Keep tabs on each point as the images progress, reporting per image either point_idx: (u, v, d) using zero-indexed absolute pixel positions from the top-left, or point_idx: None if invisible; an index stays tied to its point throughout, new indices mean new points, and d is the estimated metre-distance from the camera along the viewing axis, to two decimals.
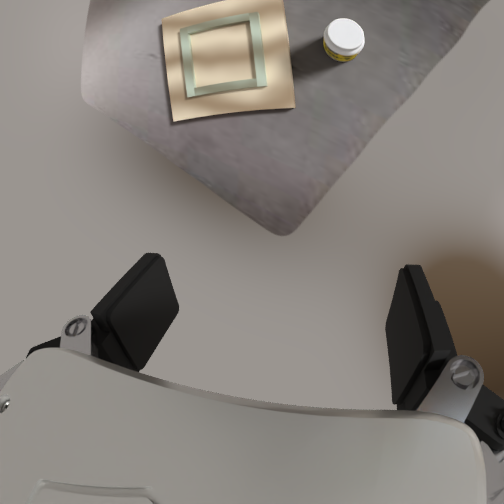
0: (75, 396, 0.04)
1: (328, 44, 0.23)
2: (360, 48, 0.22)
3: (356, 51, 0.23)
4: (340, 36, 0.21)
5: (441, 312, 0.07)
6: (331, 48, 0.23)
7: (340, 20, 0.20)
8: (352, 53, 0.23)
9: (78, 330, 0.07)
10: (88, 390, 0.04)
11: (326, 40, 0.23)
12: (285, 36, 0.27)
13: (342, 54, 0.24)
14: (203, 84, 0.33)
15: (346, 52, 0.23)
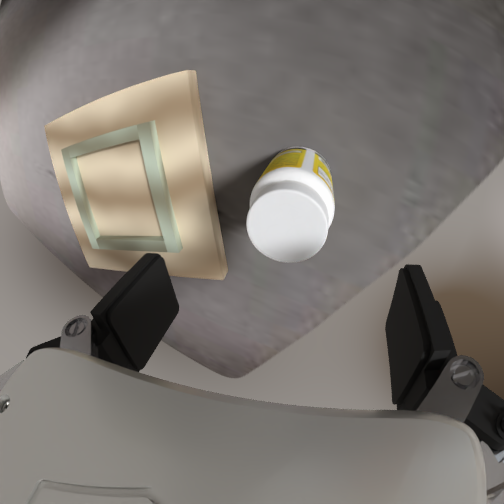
0: (75, 396, 0.04)
1: None
2: None
3: None
4: (273, 237, 0.13)
5: (441, 312, 0.07)
6: None
7: (275, 196, 0.12)
8: None
9: (78, 330, 0.07)
10: (88, 390, 0.04)
11: None
12: (199, 167, 0.20)
13: None
14: (106, 232, 0.26)
15: None
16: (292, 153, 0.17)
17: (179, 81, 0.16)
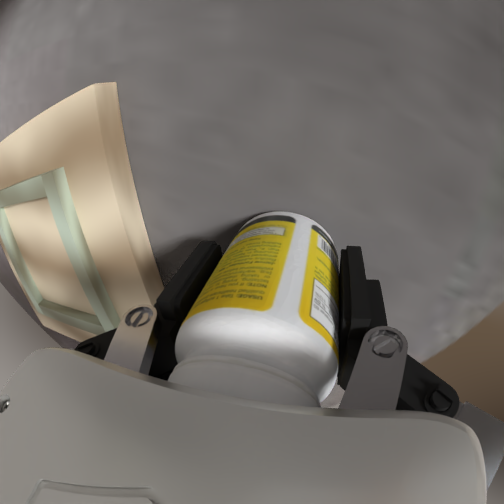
0: (75, 396, 0.04)
1: None
2: None
3: None
4: None
5: (380, 290, 0.09)
6: None
7: None
8: None
9: (142, 320, 0.08)
10: (88, 390, 0.04)
11: None
12: (125, 241, 0.12)
13: None
14: (47, 297, 0.18)
15: None
16: (266, 239, 0.09)
17: (85, 104, 0.09)
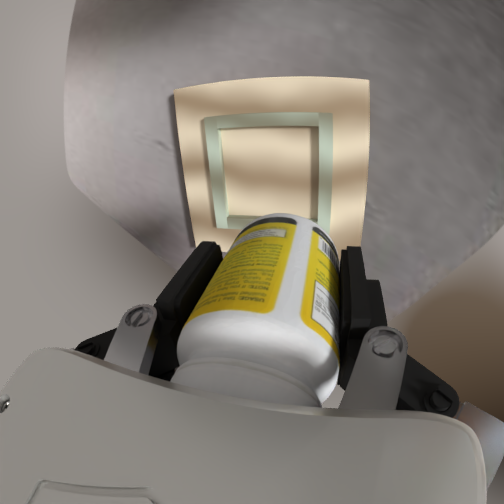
0: (75, 396, 0.04)
1: None
2: None
3: None
4: None
5: (380, 290, 0.09)
6: None
7: None
8: None
9: (142, 320, 0.08)
10: (88, 390, 0.04)
11: None
12: (366, 161, 0.22)
13: None
14: (239, 212, 0.28)
15: None
16: (267, 241, 0.09)
17: (361, 87, 0.19)
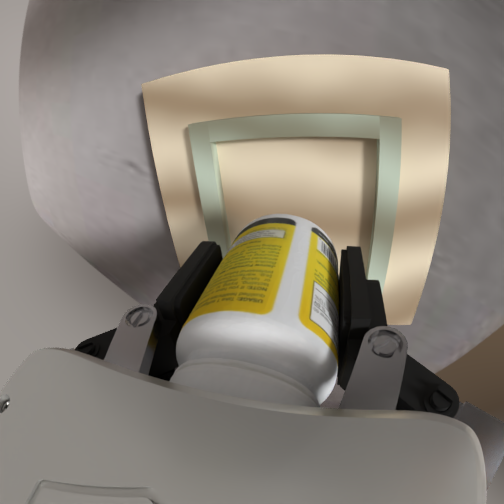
0: (75, 396, 0.04)
1: None
2: None
3: None
4: None
5: (380, 290, 0.09)
6: None
7: None
8: None
9: (142, 320, 0.08)
10: (88, 390, 0.04)
11: None
12: (441, 195, 0.13)
13: None
14: None
15: None
16: (266, 242, 0.09)
17: (438, 79, 0.10)
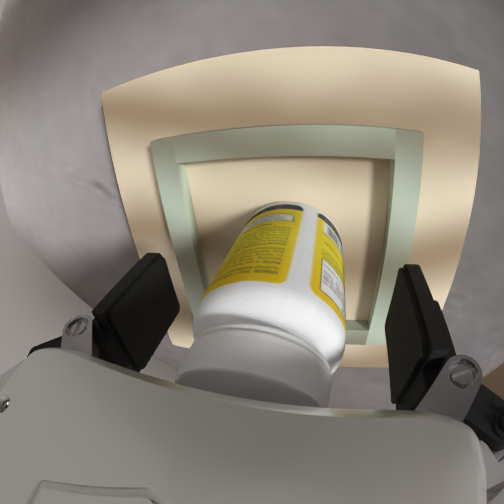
0: (75, 396, 0.04)
1: None
2: None
3: None
4: None
5: (440, 311, 0.07)
6: None
7: (220, 376, 0.05)
8: None
9: (79, 330, 0.07)
10: (88, 390, 0.04)
11: None
12: (464, 228, 0.10)
13: None
14: None
15: None
16: (276, 224, 0.10)
17: (467, 82, 0.07)
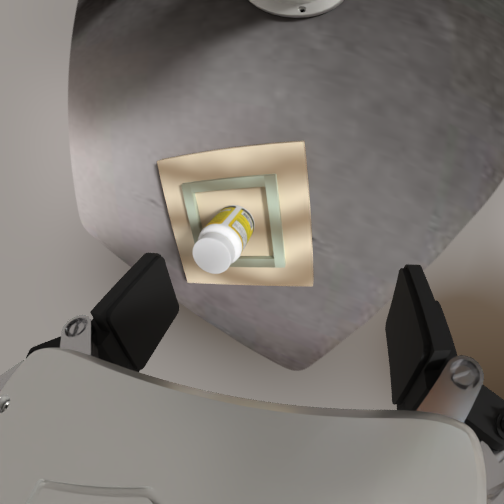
0: (75, 396, 0.04)
1: None
2: (236, 258, 0.28)
3: (232, 262, 0.28)
4: (206, 260, 0.27)
5: (441, 312, 0.07)
6: None
7: (203, 241, 0.26)
8: None
9: (78, 330, 0.07)
10: (88, 390, 0.04)
11: None
12: (307, 208, 0.30)
13: None
14: None
15: None
16: (224, 212, 0.30)
17: (297, 149, 0.27)
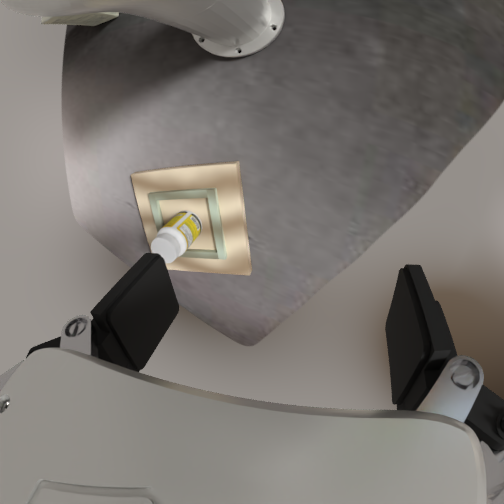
0: (75, 396, 0.04)
1: None
2: (182, 252, 0.37)
3: (180, 255, 0.38)
4: (159, 253, 0.36)
5: (441, 312, 0.07)
6: None
7: (157, 240, 0.35)
8: (177, 256, 0.38)
9: (78, 330, 0.07)
10: (88, 390, 0.04)
11: None
12: (240, 215, 0.39)
13: None
14: None
15: None
16: (177, 216, 0.39)
17: (231, 169, 0.36)
